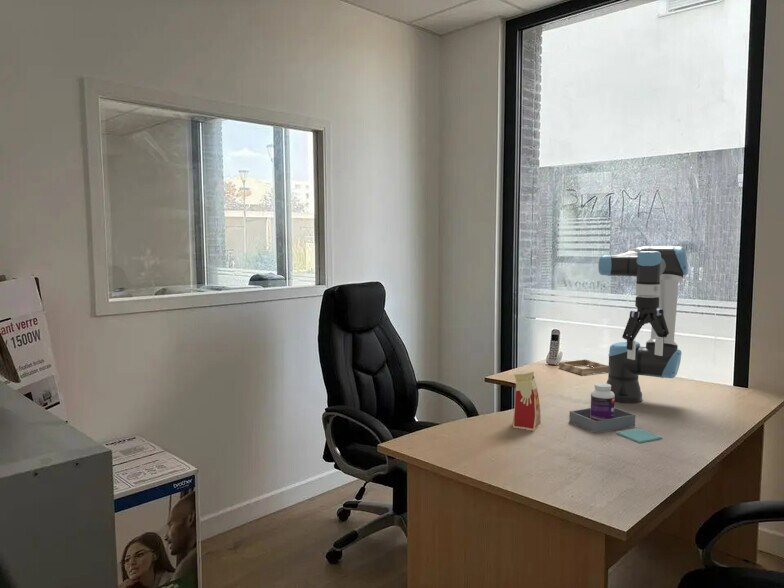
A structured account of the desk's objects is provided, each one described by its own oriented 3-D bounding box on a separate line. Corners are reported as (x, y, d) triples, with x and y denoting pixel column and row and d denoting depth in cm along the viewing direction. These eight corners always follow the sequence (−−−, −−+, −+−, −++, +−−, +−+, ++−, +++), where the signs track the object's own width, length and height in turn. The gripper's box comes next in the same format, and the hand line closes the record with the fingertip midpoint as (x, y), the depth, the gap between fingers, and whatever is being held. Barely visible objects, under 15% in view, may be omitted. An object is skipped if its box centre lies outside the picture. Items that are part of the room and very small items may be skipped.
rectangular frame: (569, 422, 213) (569, 411, 213) (607, 415, 221) (608, 405, 220) (595, 433, 201) (595, 421, 201) (635, 425, 209) (635, 414, 208)
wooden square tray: (559, 368, 297) (559, 362, 297) (585, 365, 304) (585, 359, 304) (582, 375, 282) (582, 369, 281) (609, 372, 289) (609, 366, 288)
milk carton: (540, 423, 212) (541, 369, 210) (535, 431, 204) (536, 374, 202) (515, 420, 216) (516, 366, 214) (509, 427, 207) (510, 372, 205)
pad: (616, 433, 201) (616, 432, 201) (638, 429, 205) (638, 427, 205) (639, 443, 192) (639, 441, 192) (661, 438, 196) (661, 436, 196)
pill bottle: (615, 428, 206) (617, 388, 205) (591, 426, 208) (592, 387, 206) (611, 421, 214) (613, 382, 213) (588, 419, 216) (589, 381, 214)
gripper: (630, 299, 192) (628, 362, 195) (681, 295, 204) (678, 355, 206) (612, 297, 199) (610, 358, 201) (663, 293, 210) (660, 351, 212)
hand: (645, 357), depth 204 cm, fingers open, 13 cm apart
